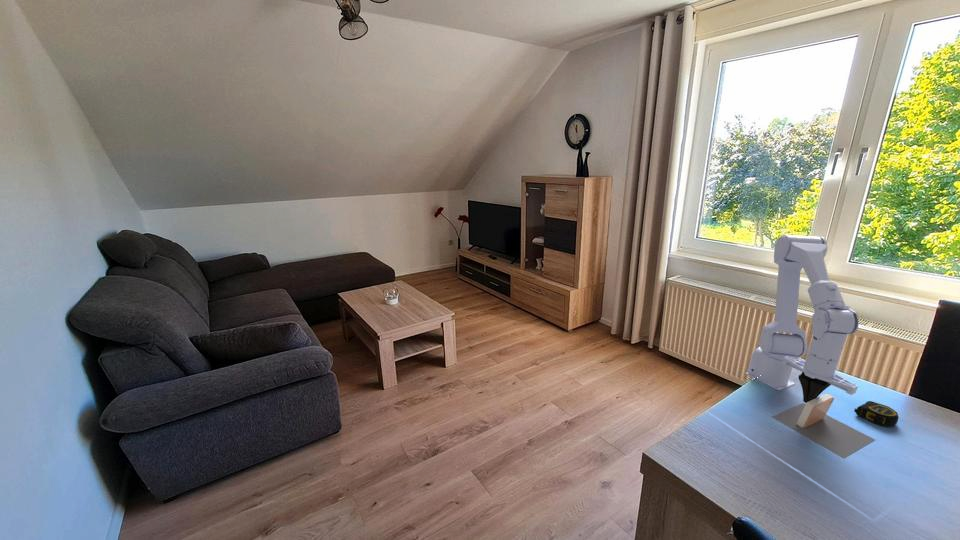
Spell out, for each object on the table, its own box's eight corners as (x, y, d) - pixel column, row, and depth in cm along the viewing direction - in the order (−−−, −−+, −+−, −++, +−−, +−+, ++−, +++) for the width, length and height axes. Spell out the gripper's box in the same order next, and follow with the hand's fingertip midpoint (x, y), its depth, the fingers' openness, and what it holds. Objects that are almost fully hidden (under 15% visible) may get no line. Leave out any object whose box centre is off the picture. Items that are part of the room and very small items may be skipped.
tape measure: (865, 409, 101) (869, 397, 100) (900, 425, 95) (905, 413, 94) (851, 415, 98) (856, 403, 97) (887, 433, 92) (892, 420, 91)
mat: (771, 418, 97) (771, 416, 97) (802, 404, 103) (803, 402, 102) (843, 459, 84) (844, 458, 84) (875, 441, 90) (875, 439, 89)
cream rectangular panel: (796, 423, 94) (806, 402, 92) (816, 414, 98) (827, 393, 95) (803, 428, 93) (814, 407, 90) (823, 418, 96) (835, 397, 94)
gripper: (780, 344, 96) (768, 390, 100) (852, 374, 83) (834, 424, 87) (796, 339, 98) (783, 383, 103) (869, 367, 86) (850, 416, 90)
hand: (808, 402), depth 95 cm, fingers closed
